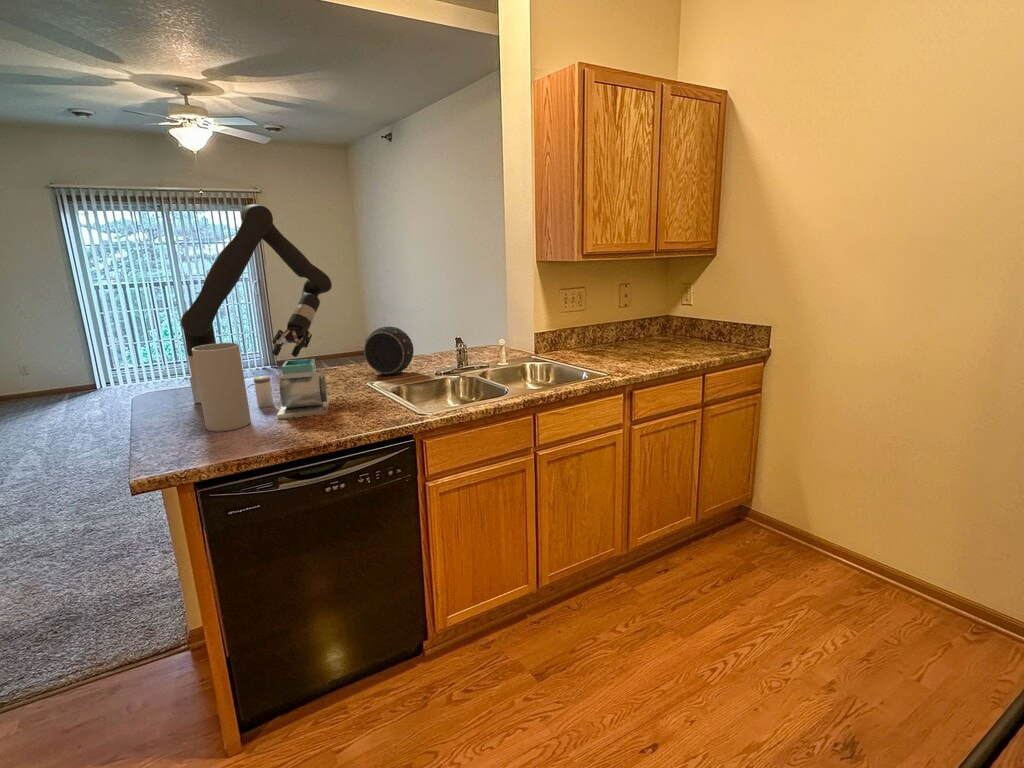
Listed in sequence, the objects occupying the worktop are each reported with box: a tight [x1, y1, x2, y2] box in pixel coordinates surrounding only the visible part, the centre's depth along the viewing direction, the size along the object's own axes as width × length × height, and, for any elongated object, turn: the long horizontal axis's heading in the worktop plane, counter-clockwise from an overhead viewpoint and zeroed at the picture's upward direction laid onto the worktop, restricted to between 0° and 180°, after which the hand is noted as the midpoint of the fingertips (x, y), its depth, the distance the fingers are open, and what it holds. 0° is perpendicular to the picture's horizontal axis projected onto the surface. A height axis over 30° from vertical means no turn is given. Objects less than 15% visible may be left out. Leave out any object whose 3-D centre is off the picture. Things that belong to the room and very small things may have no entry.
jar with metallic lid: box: [253, 375, 274, 409], centre depth 188 cm, size 5×5×10 cm
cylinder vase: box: [192, 342, 252, 433], centre depth 166 cm, size 12×12×25 cm
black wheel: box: [363, 326, 414, 376], centre depth 227 cm, size 11×20×20 cm, turn 78°
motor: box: [276, 358, 330, 420], centre depth 180 cm, size 15×14×16 cm
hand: (284, 355), depth 196 cm, fingers open, 8 cm apart
